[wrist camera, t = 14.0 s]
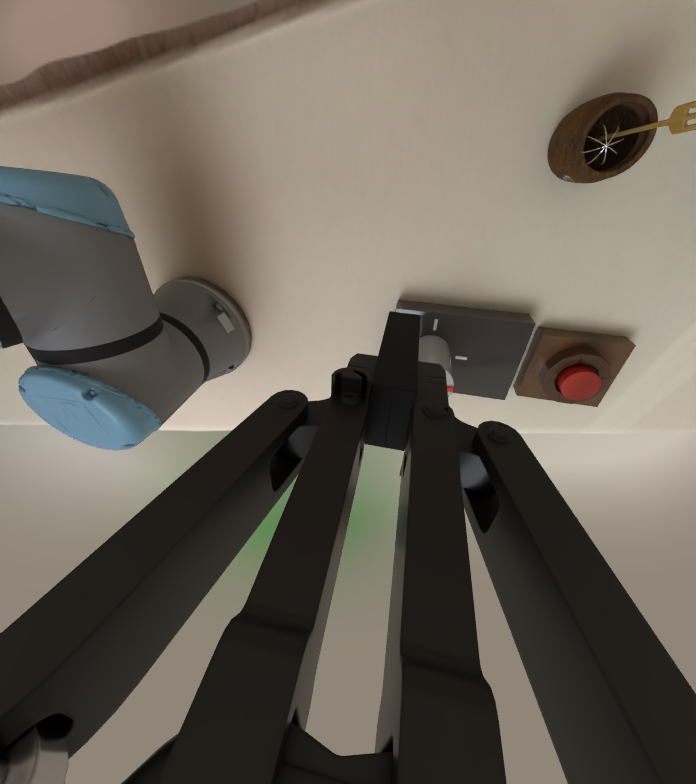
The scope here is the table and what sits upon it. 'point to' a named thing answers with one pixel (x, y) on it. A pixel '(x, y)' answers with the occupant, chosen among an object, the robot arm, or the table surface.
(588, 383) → the power button
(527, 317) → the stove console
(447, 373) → the stove knob
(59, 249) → the robot arm
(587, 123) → the utensil holder
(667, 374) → the table surface
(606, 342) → the block
